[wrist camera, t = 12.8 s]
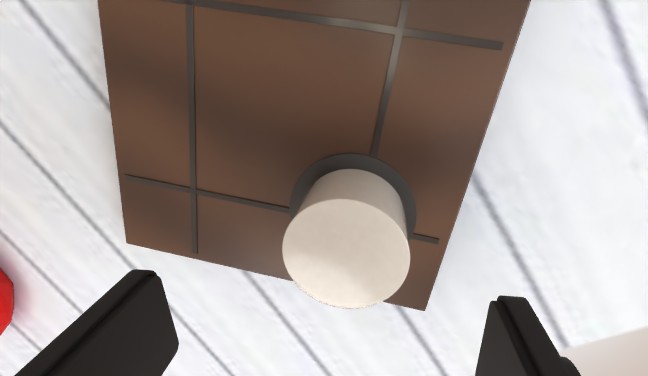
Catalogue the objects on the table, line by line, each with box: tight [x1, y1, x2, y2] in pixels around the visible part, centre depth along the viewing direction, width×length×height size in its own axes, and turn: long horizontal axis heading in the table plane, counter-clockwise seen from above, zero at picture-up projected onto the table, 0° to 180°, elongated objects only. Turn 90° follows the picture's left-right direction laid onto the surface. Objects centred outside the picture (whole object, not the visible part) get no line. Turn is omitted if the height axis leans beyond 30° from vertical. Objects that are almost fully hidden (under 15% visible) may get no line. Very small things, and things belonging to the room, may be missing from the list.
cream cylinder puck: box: [282, 169, 410, 309], centre depth 15 cm, size 5×5×4 cm
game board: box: [98, 0, 531, 311], centre depth 16 cm, size 18×18×2 cm
